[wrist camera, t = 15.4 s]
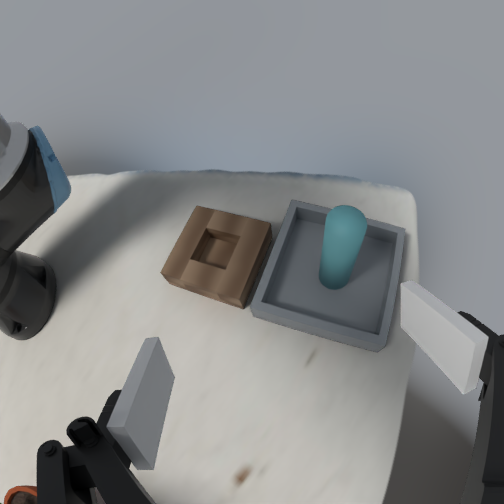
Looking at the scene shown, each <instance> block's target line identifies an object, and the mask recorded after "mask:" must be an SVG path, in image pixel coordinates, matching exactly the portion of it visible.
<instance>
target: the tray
mask: <svg viewBox="0 0 504 504" xmlns="http://www.w3.org/2000/svg"><path fill="white" fill-rule="evenodd" d="M331 210H332V209H329V208H325V207H321V206H317V205H313V204H309V203H305V202H300V201H296V200H291V202H290V205H289V208H288V210H287V213H286V216H285V218H284V221H283V223H282V226H281V229H280V231H279V234H278V236H277V239H276V242H275V244H274V247H273V249H272V252H271V254H270V257H269V259H268V262H267V265H266V267H265V270H264V272H263V275H262V277H261V280H260V282H259V285H258V287H257V290H256V293H255V295H254V298H253V300H252V303H251V305H250V309H251V312H252V314H253V316H254V317H257V318H260V319H263V320H266V321H269V322H273V323H276V324H279V325H282V326H286V327H289V328H292V329H295V330H299V331H302V332H305V333H309V334H312V335H316V336H319V337H323V338H326V339H330V340H333V341H337V342H340V343H344V344H348V345H351V346H355V347H359V348H363V349H366V350H370V351H374V352H378V351H380V350H381V349H382V348H384V347H385V345H386V341H387V337H388V332H389V328H390V323H391V318H392V313H393V308H394V303H395V298H396V292H397V286H398V280H399V274H400V267H401V260H402V253H403V245H404V237H405V229H404V228H401V227H397V226H394V225H390V224H387V223H383V222H379V221H376V220H372V219H368V218H366V220H367V229H366V233H365V236H364V239H363V241H362V244H361V247H360V250H359V253H358V256H357V259H356V262H355V264H354V267H353V270H352V273H351V275H350V278H349V281H348V283H347V284H346V285H345V286H344V287H343V288H341V289H338V290H332V289H328V288H326V287H325V286H323V285H322V283H321V282H320V280H319V267H320V260H321V253H322V246H323V238H324V230H325V222H326V217H327V214H328V213H329V211H331Z"/></svg>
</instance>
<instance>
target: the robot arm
mask: <svg viewBox="0 0 504 504" xmlns="http://www.w3.org/2000/svg"><path fill="white" fill-rule="evenodd" d="M70 193H71V185H70V183H69V180H68V178H67V176H66V174H65V172H64V170H63V169H62V167H61V165H60V163H59V161H58V159H57V157H55V154H54V152H53V150H52V148H51V146H50V144H49V142H48V140H47V138H46V136H45V135H44V133H43V131H42V129H41V128H40V127H39V126H35V127H33V128H30V129H29V130H27V128H26V127H25V126H24V125H23V124H22V123H20V122H10V123H7V122H6V120H5V119H4V118H3V116H2V115H1V114H0V330H1V331H2V332H3V333H5V334H6V335H8V336H10V337H12V338H14V339H17V340H25V339H28V338H31V337H32V336H34V335H35V334H36V333H37V332H38V331H39V330H40V329H41V328H42V327H43V325H44V324H45V322H46V321H47V319H48V317H49V315H50V313H51V310H52V308H53V304H54V301H55V295H56V279H55V275H54V272H53V270H52V268H51V267H50V266H49V265H48V264H47V263H46V262H44V261H43V260H42V259H41V258H39V257H37V256H34V255H30V254H27V253H23V252H20V251H17V250H16V249H17V248H18V247H19V246H20V245H21V244H22V243H23V242H24V241H25V240H26V239H27V238H28V237H29V236H30V235H31V234H32V233H33V232H34V231H35V230H36V229H37V228H38V227H40V226H41V225H42V224H43V223H44V222H45V221H46V220H47V219H48V218H49V217H50V216H52V215H53V214H54V213H55V212H56V211H57V209H58V208H59V207H60V206H61V205H62V204H63V203H64V202H65V201H66V200H67V199H68V197H69V196H70ZM401 328H402V329H403V330H404V331H405V332H406V333H407V334H408V335H409V336H410V337H411V338H412V339H413V340H414V341H415V342H416V343H417V344H418V346H420V348H421V349H422V350H423V351H424V352H425V353H426V354H427V355H428V356H429V357H430V358H431V359H432V361H433V362H434V363H435V364H436V365H437V366H438V367H439V368H440V369H441V371H442V372H443V373H444V374H445V375H446V376H447V377H448V378H449V379H450V380H451V382H452V383H453V384H454V385H455V386H456V387H457V388H458V389H459V390H460V392H461V393H462V394H463V395H464V394H466V393H468V392H470V391H472V390H474V389H476V387H477V384H478V380H479V378H480V379H481V380H482V381H483V382H484V384H483V387H482V390H481V393H480V397H479V401H480V400H481V405H480V413H479V420H478V427H477V433H476V439H475V445H474V450H473V455H472V460H471V464H470V468H469V473H468V477H467V481H466V484H465V488H464V492H463V495H462V499H461V502H460V504H504V335H500V336H498V335H497V334H496V333H494V332H493V331H492V330H490V329H489V328H488V327H486V326H485V325H484V324H481V322H480V321H478V320H476V318H474V317H473V316H472V315H470V314H468V313H465V312H462V311H460V312H458V313H457V312H456V311H454V310H453V309H451V308H450V307H449V306H448V305H446V304H445V303H444V302H442V301H441V300H439V299H438V298H437V297H435V296H434V295H432V294H431V293H429V292H428V291H427V290H425V289H424V288H423V287H421V286H420V285H419V284H417V283H416V282H414V281H413V280H410V281H407V282H404V283H401ZM174 379H175V377H174V374H173V372H172V370H171V367H170V365H169V362H168V360H167V357H166V355H165V352H164V350H163V347H162V345H161V342H160V339H159V337H154V338H147V339H145V341H144V343H143V345H142V347H141V349H140V351H139V354H138V356H137V358H136V360H135V362H134V364H133V367H132V369H131V371H130V373H129V375H128V378H127V380H126V382H125V384H124V387H123V389H122V390H115V391H114V392H113V393H112V394H111V395H110V396H109V397H108V399H107V402H106V404H105V406H104V408H103V410H102V412H101V414H100V417H99V419H98V421H97V423H95V421H94V420H93V419H92V418H90V417H80V418H77V419H75V420H74V421H72V422H71V423H70V424H69V426H68V428H67V430H66V431H67V435H68V437H69V438H70V439H71V441H72V442H73V443H74V445H73V446H68V447H63V446H62V444H61V443H60V442H59V441H56V440H49V441H47V442H45V443H43V444H42V445H41V446H40V447H39V449H38V452H37V504H98V503H97V499H96V494H95V489H94V487H97V489H98V490H99V492H100V494H101V496H102V498H103V499H104V501H105V503H106V504H156V503H155V502H154V500H153V499H152V498H151V497H150V495H149V494H148V493H147V492H146V490H145V489H144V488H143V487H142V485H141V484H140V483H139V481H138V480H137V479H136V477H135V476H134V474H133V473H132V472H131V471H130V469H129V468H130V464H131V462H132V464H133V465H134V466H135V467H136V469H137V470H154V465H155V461H156V456H157V451H158V447H159V442H160V438H161V433H162V429H163V425H164V420H165V416H166V412H167V408H168V403H169V399H170V395H171V391H172V387H173V383H174Z"/></svg>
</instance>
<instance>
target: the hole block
mask: <svg viewBox="0 0 504 504" xmlns="http://www.w3.org/2000/svg"><path fill="white" fill-rule="evenodd" d="M271 239H272V231H271V223H268V222H264V221H260V220H256V219H252V218H248V217H244V216H239V215H235V214H231V213H227V212H222V211H218V210H214V209H209V208H205V207H200V206H196V208H195V209H194V211H193V213H192V215H191V216H190V218H189V220H188V222H187V224H186V225H185V227H184V229H183V231H182V233H181V235H180V237H179V238H178V240H177V242H176V244H175V246H174V248H173V250H172V251H171V253H170V255H169V257H168V259H167V261H166V263H165V265H164V267H163V269H162V271H161V274H162V275H163V276H164V278H165V279H166V280H167V281H168V282H169V283H170V284H172V285H174V286H177V287H180V288H183V289H186V290H189V291H191V292H194V293H197V294H200V295H203V296H206V297H209V298H212V299H214V300H217V301H220V302H223V303H226V304H229V305H232V306H235V307H238V308H242V309H244V307H245V304H246V302H247V299H248V297H249V294H250V292H251V289H252V287H253V284H254V282H255V280H256V277H257V275H258V272H259V270H260V267H261V265H262V262H263V260H264V257H265V255H266V252H267V249H268V247H269V244H270V242H271Z"/></svg>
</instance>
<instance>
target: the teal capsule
mask: <svg viewBox="0 0 504 504" xmlns="http://www.w3.org/2000/svg"><path fill="white" fill-rule="evenodd" d="M366 229H367V220H366V218H365V216H364V214H363V213H362V212H361V211H360V210H358V209H356V208H355V207H352V206H347V205H342V206H337V207H335V208H333V209H332V210H331V211H329V213H328V214H327V217H326V222H325V230H324V238H323V246H322V253H321V260H320V267H319V280H320V282H321V283H322V285H323V286H325V287H326V288H328V289H332V290H338V289H341V288H343V287H344V286H345V285H346V284H347V283H348V281H349V278H350V275H351V273H352V270H353V267H354V264H355V262H356V259H357V256H358V253H359V250H360V247H361V244H362V241H363V239H364V236H365V233H366Z"/></svg>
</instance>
